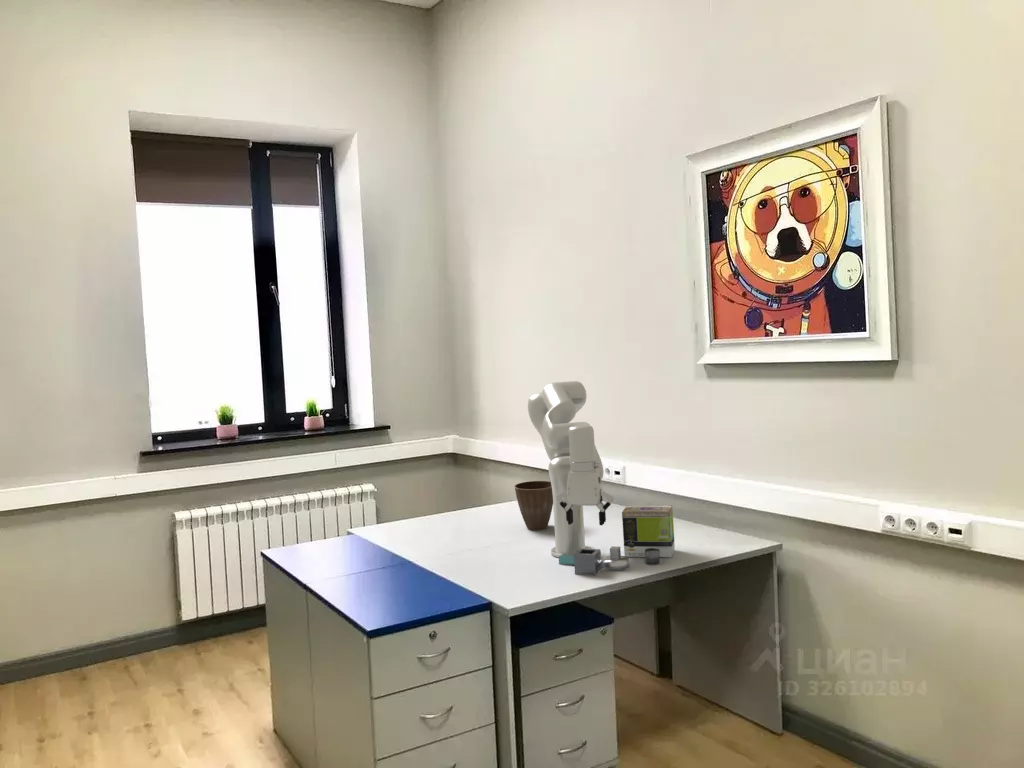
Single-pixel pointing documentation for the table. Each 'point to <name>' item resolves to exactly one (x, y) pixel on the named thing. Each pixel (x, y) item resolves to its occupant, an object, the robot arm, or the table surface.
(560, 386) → the robot arm
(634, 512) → the tea box
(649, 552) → the socket
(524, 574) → the table surface
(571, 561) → the ratchet
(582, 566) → the socket
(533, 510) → the plant pot
